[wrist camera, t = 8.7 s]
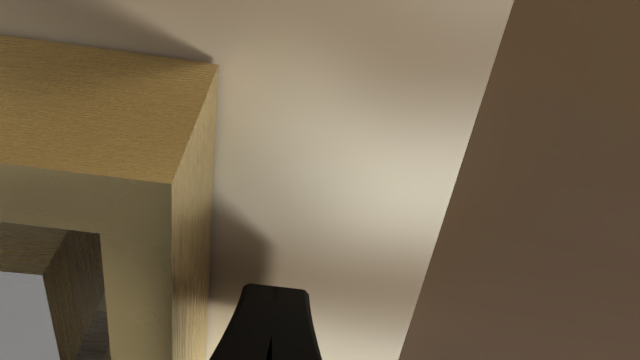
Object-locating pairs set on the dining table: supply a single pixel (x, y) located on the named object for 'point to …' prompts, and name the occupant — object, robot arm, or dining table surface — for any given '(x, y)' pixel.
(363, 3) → the board
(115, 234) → the tan wooden arch piece
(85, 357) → the grey long bar
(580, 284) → the dining table surface
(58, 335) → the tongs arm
